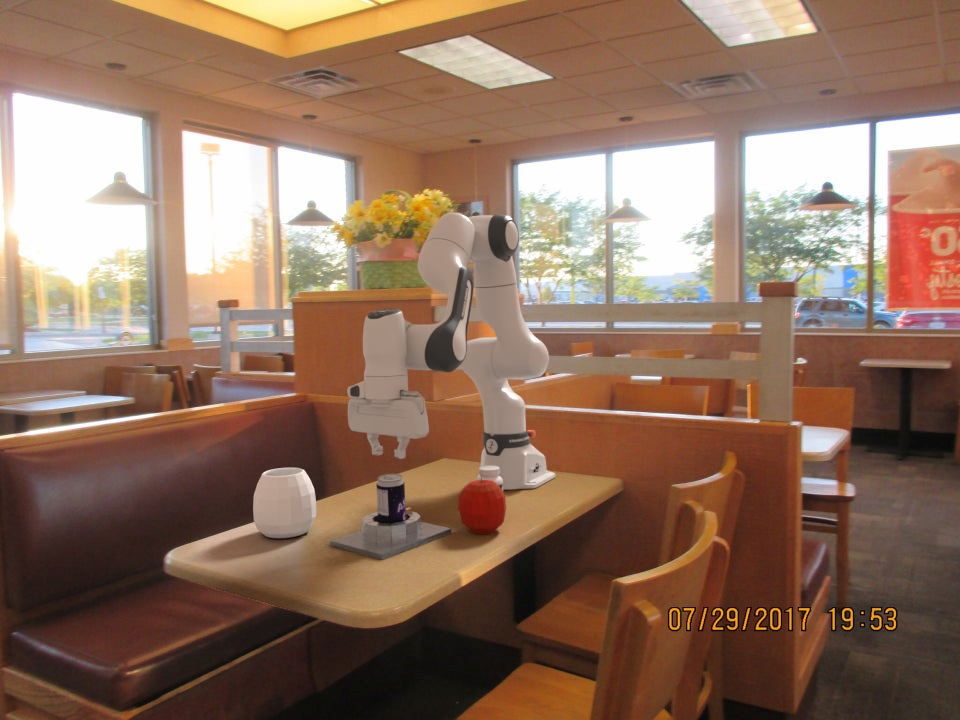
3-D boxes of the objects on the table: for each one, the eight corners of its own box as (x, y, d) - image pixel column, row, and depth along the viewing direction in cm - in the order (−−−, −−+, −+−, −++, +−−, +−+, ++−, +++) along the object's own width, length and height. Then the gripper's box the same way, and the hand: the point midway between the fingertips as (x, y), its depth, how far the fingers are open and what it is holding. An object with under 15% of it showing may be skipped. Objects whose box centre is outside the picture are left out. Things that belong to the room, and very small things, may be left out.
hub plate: (400, 521, 168) (399, 498, 168) (451, 533, 158) (450, 508, 158) (330, 545, 152) (329, 519, 152) (381, 559, 143) (380, 532, 143)
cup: (294, 545, 153) (291, 480, 152) (241, 540, 158) (237, 477, 157) (329, 527, 165) (326, 466, 164) (278, 522, 170) (275, 463, 169)
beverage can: (401, 539, 152) (399, 482, 150) (374, 537, 153) (372, 481, 151) (409, 528, 158) (407, 473, 156) (383, 527, 159) (381, 472, 157)
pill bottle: (476, 519, 168) (475, 471, 167) (475, 512, 174) (474, 465, 173) (504, 518, 168) (503, 470, 167) (502, 511, 174) (501, 464, 173)
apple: (501, 522, 165) (500, 470, 164) (511, 536, 155) (510, 480, 155) (456, 526, 164) (454, 473, 163) (462, 540, 154) (461, 484, 153)
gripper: (434, 389, 149) (436, 459, 150) (364, 385, 162) (366, 449, 163) (412, 393, 144) (414, 464, 145) (341, 388, 157) (344, 454, 158)
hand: (388, 456), depth 154 cm, fingers open, 5 cm apart
